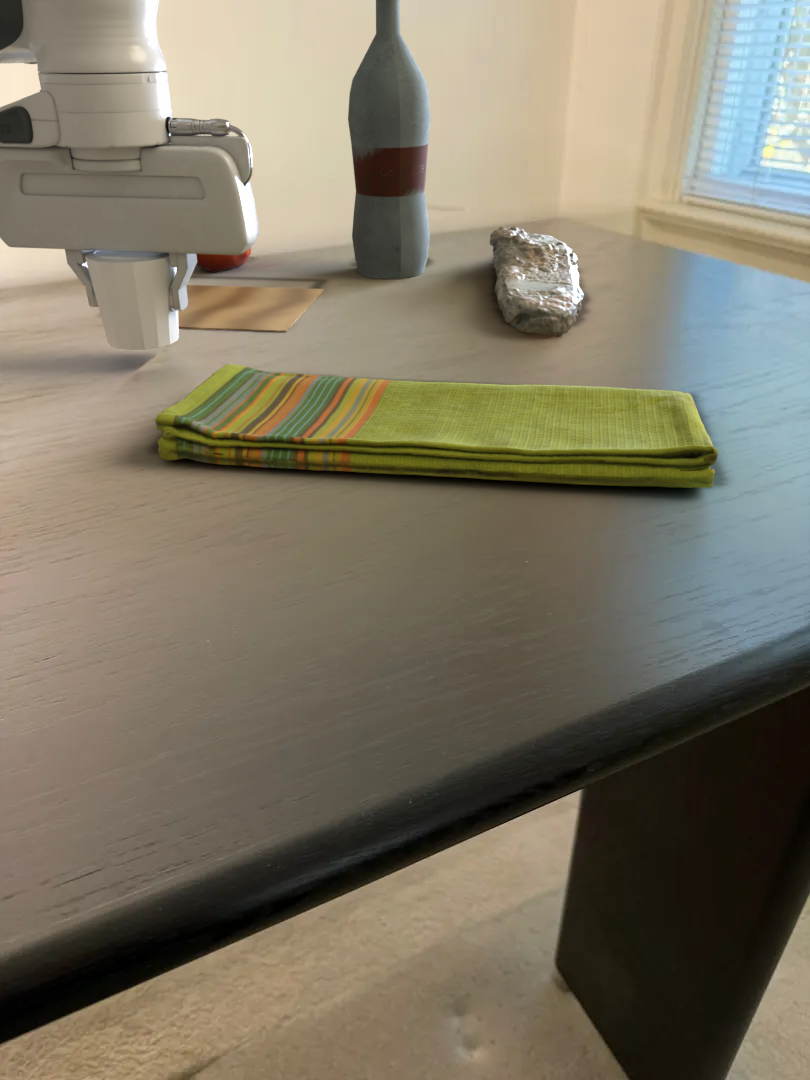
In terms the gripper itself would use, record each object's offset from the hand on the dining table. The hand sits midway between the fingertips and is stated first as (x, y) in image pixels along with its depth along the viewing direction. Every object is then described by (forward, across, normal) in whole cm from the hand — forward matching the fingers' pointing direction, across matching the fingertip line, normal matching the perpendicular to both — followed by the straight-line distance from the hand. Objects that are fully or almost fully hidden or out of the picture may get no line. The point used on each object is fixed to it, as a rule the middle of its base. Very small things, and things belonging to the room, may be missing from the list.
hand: (138, 307), depth 71 cm
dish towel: (+6, -25, +10) cm, 28 cm away
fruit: (+6, +7, -38) cm, 39 cm away
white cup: (+3, 0, 0) cm, 3 cm away
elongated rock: (+6, -31, -32) cm, 45 cm away
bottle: (+6, -14, -39) cm, 42 cm away
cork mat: (+6, +1, -21) cm, 22 cm away
